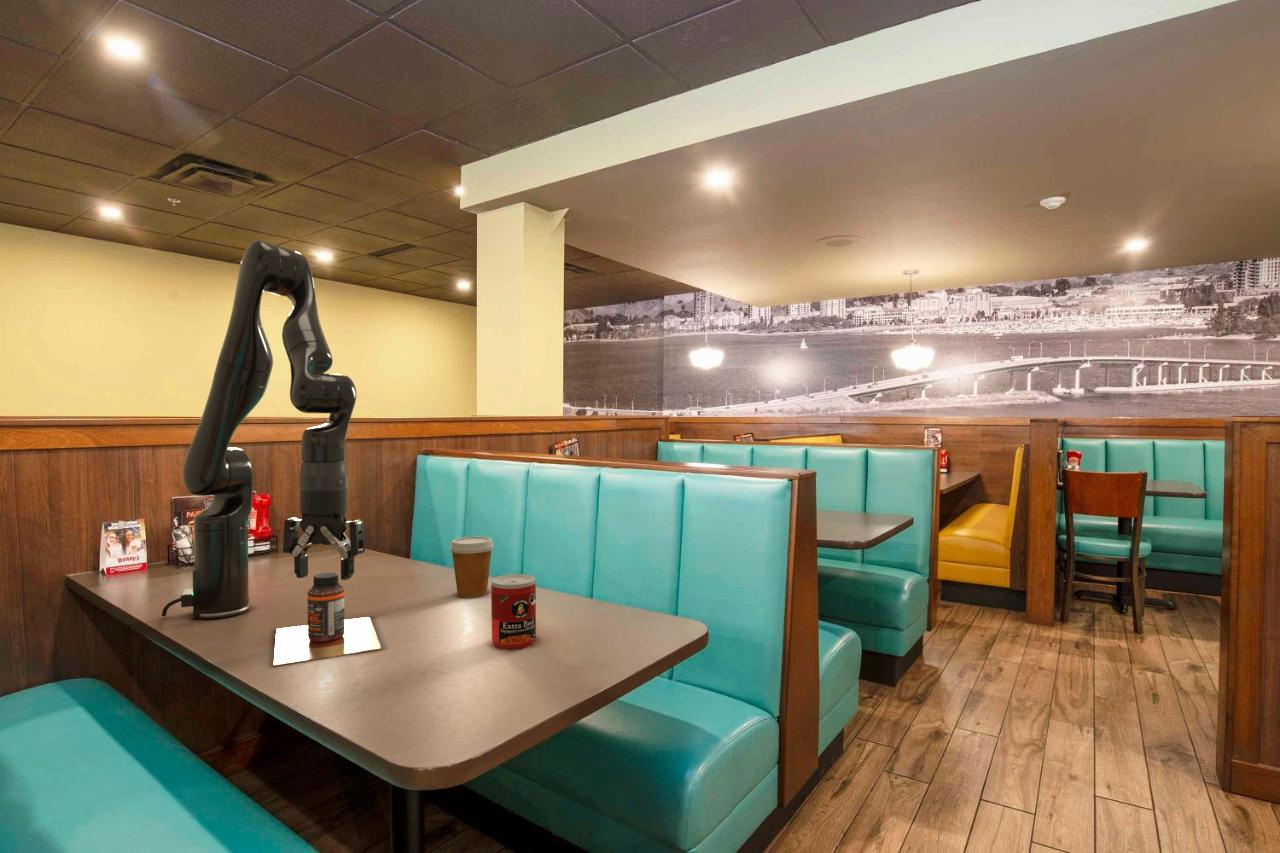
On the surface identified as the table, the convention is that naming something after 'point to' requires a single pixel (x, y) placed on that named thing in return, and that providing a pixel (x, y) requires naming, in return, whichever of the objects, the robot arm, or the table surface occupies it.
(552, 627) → the table surface
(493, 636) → the canned food
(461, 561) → the disposable coffee cup
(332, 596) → the supplement bottle
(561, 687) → the table surface
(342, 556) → the robot arm
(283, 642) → the placemat
